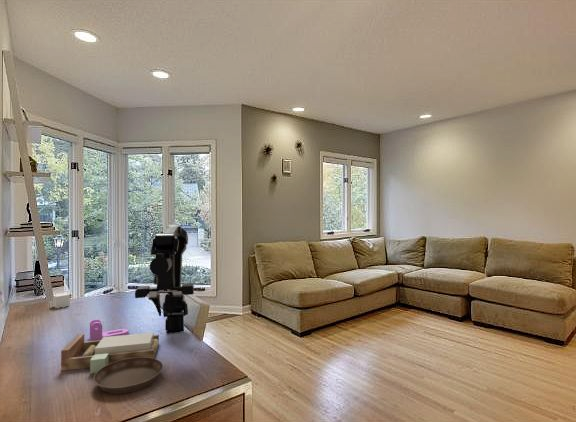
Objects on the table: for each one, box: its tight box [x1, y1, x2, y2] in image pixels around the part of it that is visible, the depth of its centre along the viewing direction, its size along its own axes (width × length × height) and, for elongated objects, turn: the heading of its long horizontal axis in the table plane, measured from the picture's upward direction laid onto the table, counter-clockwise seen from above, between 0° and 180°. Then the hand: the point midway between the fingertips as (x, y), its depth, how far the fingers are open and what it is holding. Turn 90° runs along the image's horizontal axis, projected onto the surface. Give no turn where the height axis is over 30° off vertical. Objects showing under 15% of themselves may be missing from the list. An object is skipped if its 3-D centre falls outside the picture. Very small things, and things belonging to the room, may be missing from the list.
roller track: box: [60, 333, 160, 371], centre depth 111 cm, size 26×14×6 cm, turn 105°
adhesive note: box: [52, 292, 71, 309], centre depth 171 cm, size 6×6×6 cm
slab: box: [94, 332, 155, 355], centre depth 111 cm, size 16×10×2 cm, turn 105°
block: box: [89, 353, 109, 374], centre depth 101 cm, size 4×4×4 cm
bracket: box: [89, 318, 129, 341], centre depth 128 cm, size 13×6×7 cm, turn 124°
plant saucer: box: [92, 357, 164, 395], centre depth 94 cm, size 18×18×3 cm
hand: (165, 315), depth 115 cm, fingers open, 3 cm apart
